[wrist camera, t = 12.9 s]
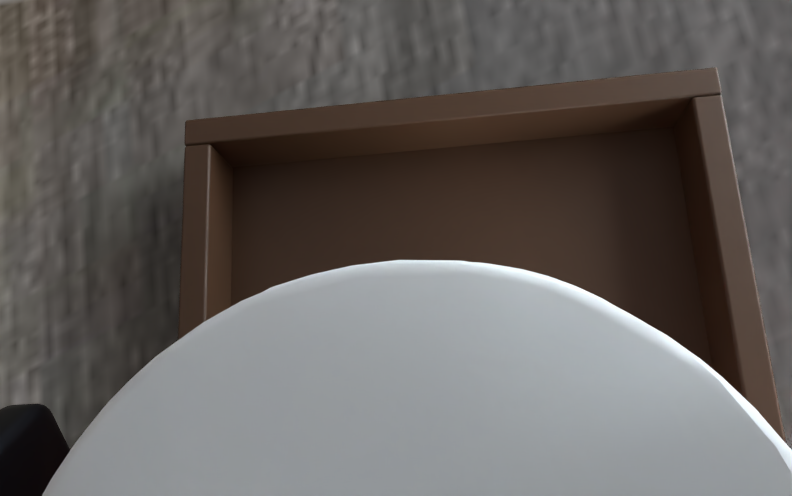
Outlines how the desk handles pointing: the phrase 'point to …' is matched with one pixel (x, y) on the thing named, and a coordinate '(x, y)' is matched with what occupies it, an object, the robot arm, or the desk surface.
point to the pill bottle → (426, 398)
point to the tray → (493, 203)
